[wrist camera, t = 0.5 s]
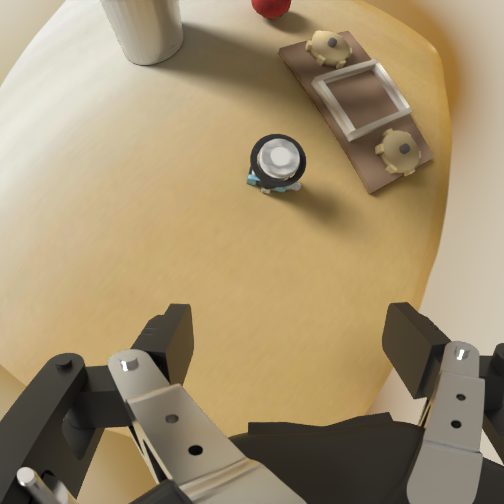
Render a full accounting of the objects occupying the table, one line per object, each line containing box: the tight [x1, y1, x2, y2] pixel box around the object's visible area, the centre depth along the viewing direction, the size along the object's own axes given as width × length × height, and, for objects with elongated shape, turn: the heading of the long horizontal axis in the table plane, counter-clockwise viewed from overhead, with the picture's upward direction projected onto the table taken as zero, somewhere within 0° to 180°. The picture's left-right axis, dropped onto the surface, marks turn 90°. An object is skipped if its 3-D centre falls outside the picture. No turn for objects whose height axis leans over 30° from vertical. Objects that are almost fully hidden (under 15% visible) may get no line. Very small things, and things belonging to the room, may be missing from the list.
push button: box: [247, 134, 306, 194], centre depth 33 cm, size 7×5×10 cm
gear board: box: [278, 30, 434, 194], centre depth 37 cm, size 25×13×4 cm, turn 29°
